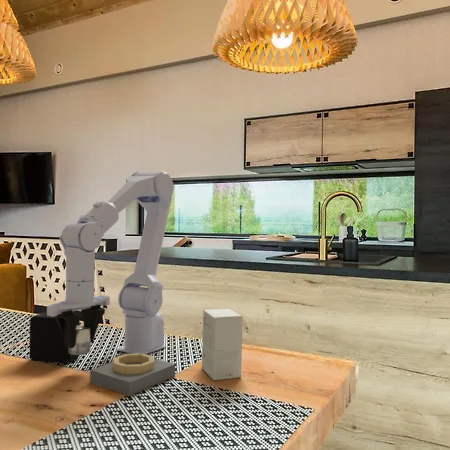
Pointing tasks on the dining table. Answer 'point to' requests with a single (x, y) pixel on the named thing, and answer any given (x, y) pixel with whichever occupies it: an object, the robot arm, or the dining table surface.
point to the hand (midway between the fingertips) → (79, 344)
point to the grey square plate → (132, 373)
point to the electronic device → (48, 340)
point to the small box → (222, 343)
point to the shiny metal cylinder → (81, 340)
